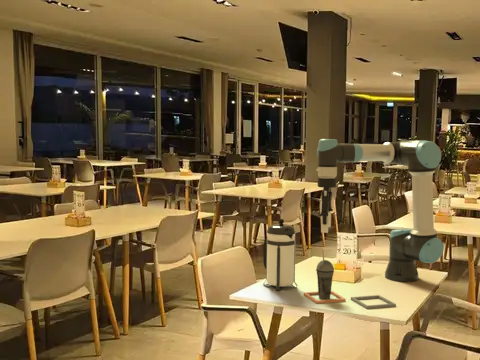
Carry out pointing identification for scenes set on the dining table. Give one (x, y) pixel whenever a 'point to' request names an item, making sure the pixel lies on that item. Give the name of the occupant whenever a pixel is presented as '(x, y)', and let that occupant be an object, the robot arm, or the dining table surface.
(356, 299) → the frame
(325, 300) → the frame
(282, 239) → the coffee press
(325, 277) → the beverage cup
